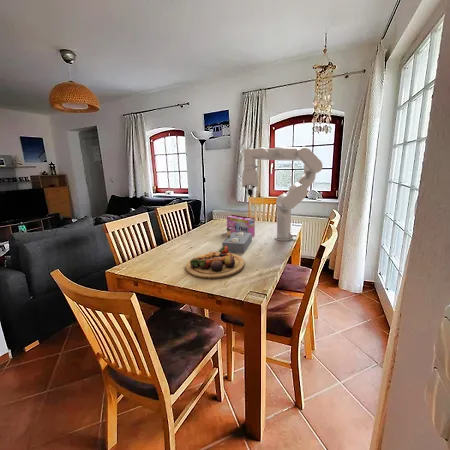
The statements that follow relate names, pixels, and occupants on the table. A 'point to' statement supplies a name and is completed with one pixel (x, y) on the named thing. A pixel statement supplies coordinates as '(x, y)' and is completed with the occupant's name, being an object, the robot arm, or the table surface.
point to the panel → (238, 246)
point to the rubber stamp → (228, 232)
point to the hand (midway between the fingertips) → (250, 195)
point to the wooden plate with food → (215, 265)
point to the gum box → (241, 224)
